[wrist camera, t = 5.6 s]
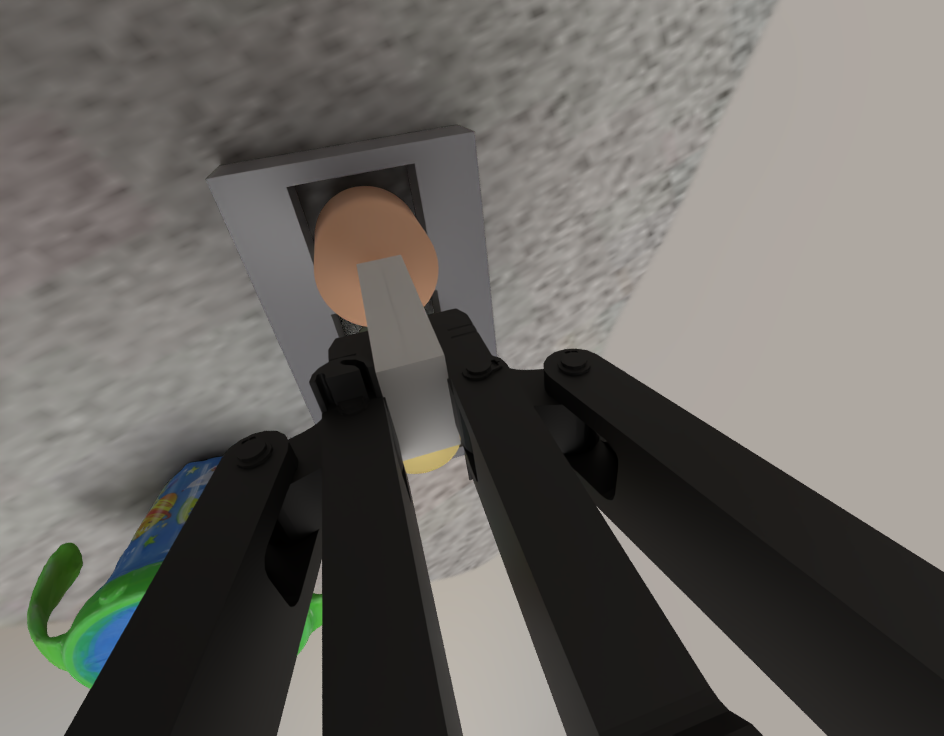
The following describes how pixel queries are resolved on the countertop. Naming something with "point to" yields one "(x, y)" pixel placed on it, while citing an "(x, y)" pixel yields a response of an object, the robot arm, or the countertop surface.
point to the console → (292, 248)
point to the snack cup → (121, 582)
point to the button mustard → (429, 460)
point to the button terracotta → (368, 247)
